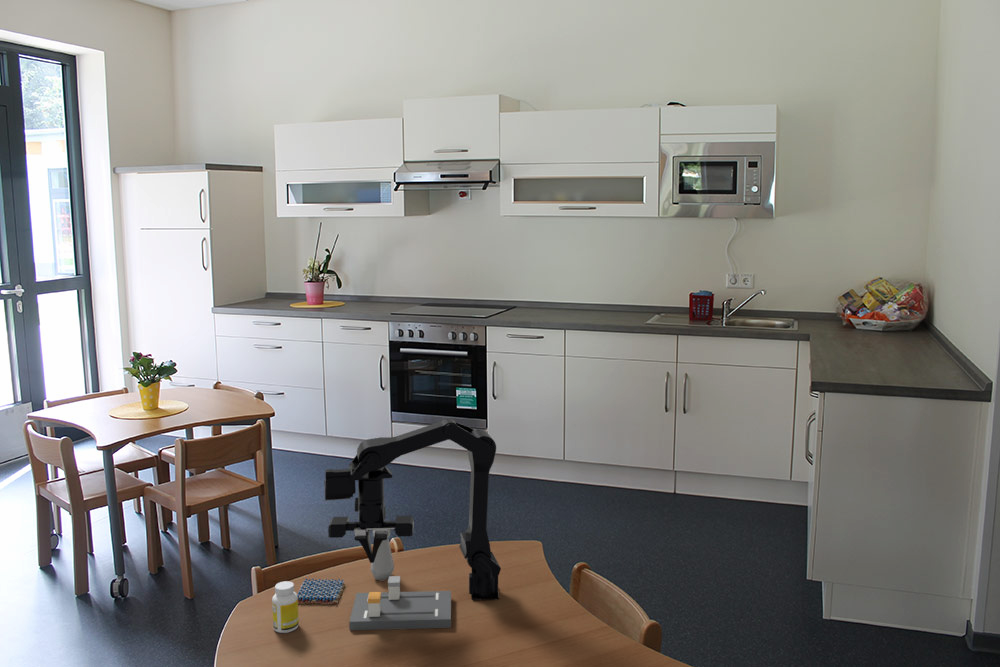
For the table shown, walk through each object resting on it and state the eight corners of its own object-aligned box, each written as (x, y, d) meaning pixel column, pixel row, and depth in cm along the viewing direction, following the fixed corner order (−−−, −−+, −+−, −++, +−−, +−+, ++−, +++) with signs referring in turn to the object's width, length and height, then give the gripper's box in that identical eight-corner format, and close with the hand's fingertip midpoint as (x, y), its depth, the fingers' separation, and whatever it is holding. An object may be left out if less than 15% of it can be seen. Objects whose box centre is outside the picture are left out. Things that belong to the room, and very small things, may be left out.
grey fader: (400, 592, 187) (400, 576, 186) (399, 599, 184) (399, 582, 183) (389, 593, 187) (389, 576, 186) (388, 599, 184) (387, 582, 183)
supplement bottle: (303, 623, 178) (302, 581, 176) (289, 635, 173) (287, 593, 171) (282, 619, 180) (280, 577, 178) (268, 631, 174) (266, 588, 173)
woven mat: (346, 585, 197) (346, 577, 196) (337, 606, 186) (337, 598, 186) (303, 584, 197) (303, 577, 196) (292, 606, 186) (292, 598, 186)
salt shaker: (396, 572, 202) (395, 523, 200) (391, 582, 197) (390, 532, 195) (373, 571, 203) (372, 522, 201) (368, 581, 197) (366, 531, 195)
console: (451, 598, 189) (451, 590, 189) (450, 627, 176) (450, 619, 176) (356, 600, 188) (356, 592, 187) (349, 630, 175) (349, 621, 175)
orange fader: (381, 609, 180) (381, 591, 179) (380, 616, 176) (379, 598, 176) (369, 609, 179) (369, 592, 179) (368, 617, 176) (367, 599, 176)
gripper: (414, 483, 190) (414, 546, 192) (334, 484, 188) (335, 547, 191) (412, 501, 179) (412, 567, 181) (327, 502, 177) (328, 568, 180)
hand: (372, 561), depth 183 cm, fingers closed
